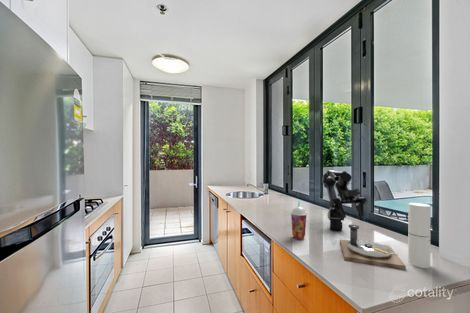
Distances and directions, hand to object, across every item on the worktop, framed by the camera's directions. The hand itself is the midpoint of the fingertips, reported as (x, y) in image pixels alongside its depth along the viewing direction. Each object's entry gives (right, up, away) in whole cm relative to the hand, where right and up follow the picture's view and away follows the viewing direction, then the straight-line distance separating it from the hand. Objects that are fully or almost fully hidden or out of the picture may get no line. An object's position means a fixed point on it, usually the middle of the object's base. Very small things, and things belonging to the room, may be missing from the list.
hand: (353, 217), depth 114 cm
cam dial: (0, -12, -12) cm, 17 cm away
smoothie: (-27, -14, +8) cm, 31 cm away
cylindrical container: (+16, -14, -22) cm, 30 cm away
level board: (0, -14, -12) cm, 18 cm away
